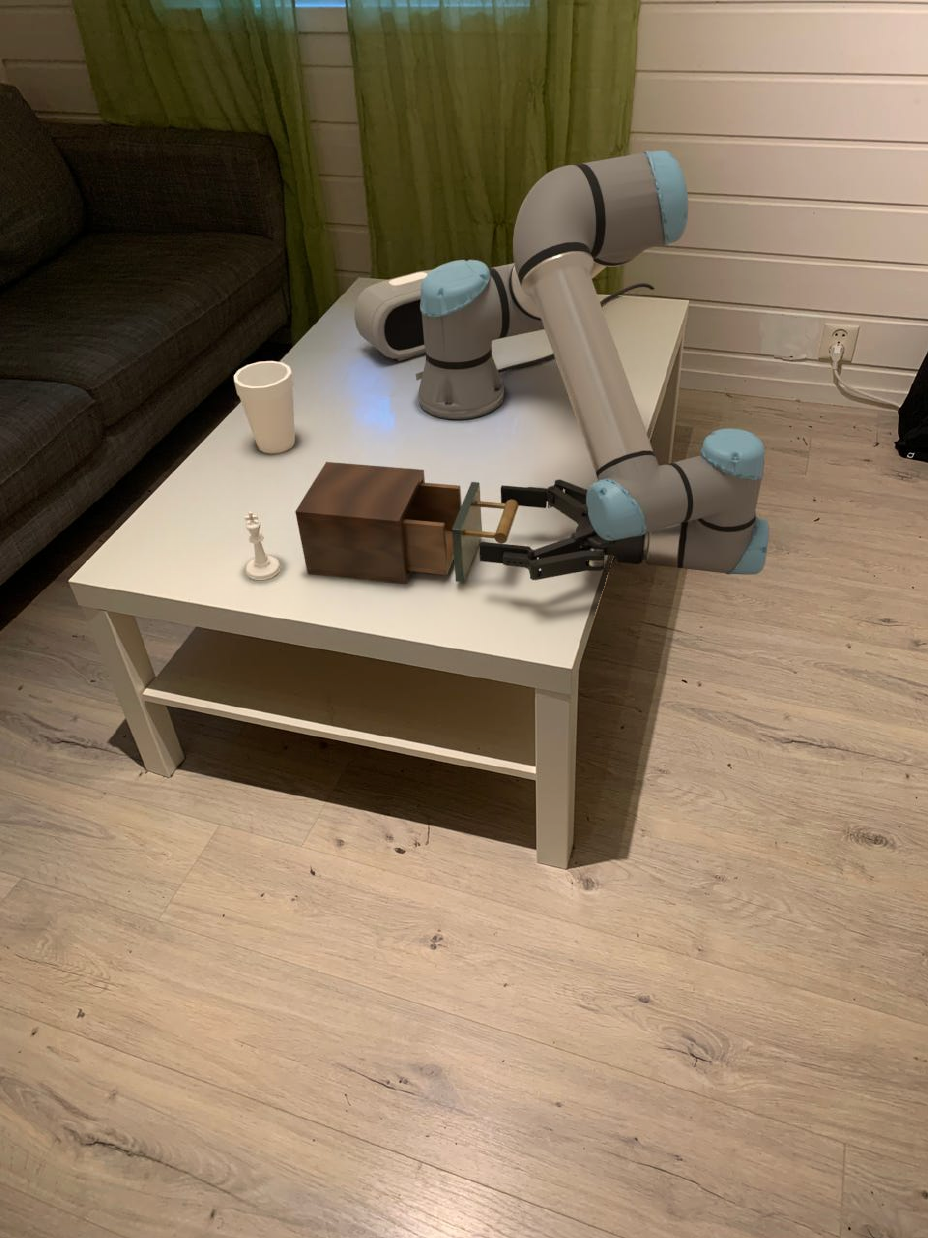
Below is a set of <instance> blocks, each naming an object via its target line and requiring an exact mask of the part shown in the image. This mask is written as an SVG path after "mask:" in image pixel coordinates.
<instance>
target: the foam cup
mask: <svg viewBox="0 0 928 1238" xmlns="http://www.w3.org/2000/svg"><path fill="white" fill-rule="evenodd" d="M233 383H234V387H235V391H236V395H237V396H238V397H239V400H240V402H241V405H242V408H243V410H244V414H245V416H246V419H247V422H248V425H249V427H250V429H251V432H252V435H253V437H254V440H255V443H256V445H257V448H258V450H259V451H261V452H262V453H266V454H280V453H284V452H286V451H289V450H290V449H291V448H293V446H294V445H295V444H296V433H295V432H296V431H295V430H296V429H295V410H294V408H295V407H294V386H295V385H294V378H293V374H292V369H291V366H289V365H288V364H286V363H285V362H280V361H275V360H266V361H256V362H254V363H250V364H246V365H244V366H242V367H241V368H238V370H236V372H235V374H234V375H233Z"/></svg>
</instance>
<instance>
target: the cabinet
mask: <svg viewBox="0 0 928 1238" xmlns="http://www.w3.org/2000/svg"><path fill="white" fill-rule="evenodd" d="M421 482H423V483H426V479H425V469H420V468H419V469H417V468H408V467H407V468H405V467H395V466H394V467H393V466H383V465H382V466H381V465H369V464H357V463H346V462H333V461H326V462H325V463H324V465H323V466H322V468H321V470H320V471H319V473H318V474H317V475H316V478H315V479H314V480H313V482H312V484H311V485H310V487H309V488H308V490H307V491H306V493H305V495H304V497H303V498H302V500H301V502H299V504H298V506H297V508H296V510H295V511H294V513H295V516H296V523H297V528H298V532H299V533H298V534H299V538H300V542H301V543H300V544H301V548H302V551H303V552H302V554H303V558H304V563H305V567H306V573H307V574H309V575H319V576H325V577H326V576H329V577H337V578H346V579H355V580H363V581H373V582H374V581H375V582H381V583H391V584H393V583H394V584H401V585H407V583H408V581H409V579H410V577H411V575H412V572H413V571H407V566H406V558H405V549H404V541H403V532H402V521H403V518H404V516H405V514H406V512H407V510H408V508H409V506H410V504H411V502H412V500H413V498H414V496H415V493H416V491H417V489H418V487H419V485H420V483H421Z"/></svg>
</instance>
